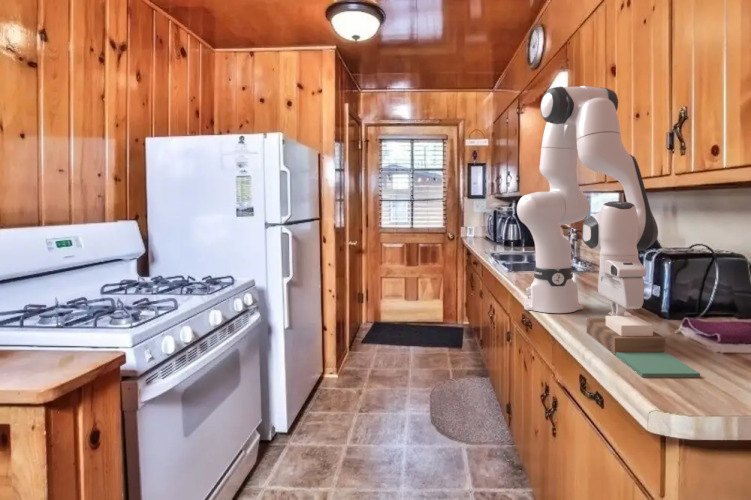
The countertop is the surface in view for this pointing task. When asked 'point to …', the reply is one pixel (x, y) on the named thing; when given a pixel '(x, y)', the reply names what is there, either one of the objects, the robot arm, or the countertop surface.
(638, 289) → the robot arm
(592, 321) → the brown striped block
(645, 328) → the cream block
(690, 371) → the mat
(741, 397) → the countertop surface
